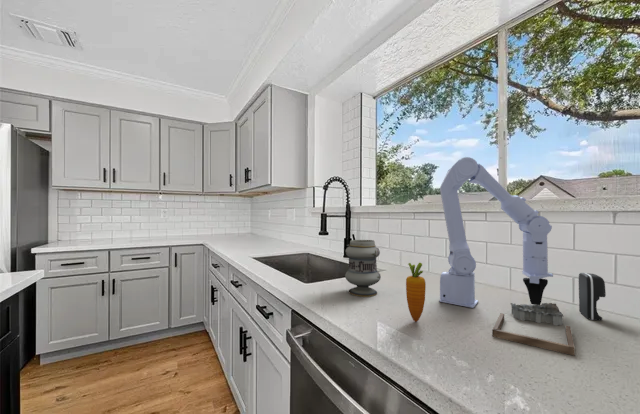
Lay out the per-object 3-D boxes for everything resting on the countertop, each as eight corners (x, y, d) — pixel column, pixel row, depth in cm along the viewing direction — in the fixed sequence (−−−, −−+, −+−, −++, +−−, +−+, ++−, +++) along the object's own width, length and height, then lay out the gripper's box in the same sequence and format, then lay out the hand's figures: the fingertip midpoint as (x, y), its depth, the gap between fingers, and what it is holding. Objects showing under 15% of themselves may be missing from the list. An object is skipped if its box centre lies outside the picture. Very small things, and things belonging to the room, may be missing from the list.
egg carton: (558, 319, 75) (558, 303, 75) (565, 328, 69) (565, 311, 69) (510, 311, 80) (510, 296, 81) (512, 319, 74) (512, 303, 74)
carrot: (402, 318, 73) (402, 260, 74) (420, 318, 74) (420, 260, 74) (410, 326, 68) (409, 263, 69) (429, 325, 69) (429, 263, 69)
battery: (608, 323, 72) (607, 277, 72) (588, 320, 73) (587, 275, 74) (596, 314, 78) (595, 272, 78) (578, 312, 80) (577, 271, 80)
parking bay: (492, 336, 63) (492, 329, 63) (500, 318, 74) (500, 313, 74) (574, 355, 55) (574, 347, 55) (570, 332, 65) (570, 326, 65)
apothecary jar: (340, 289, 102) (340, 239, 103) (371, 287, 105) (371, 238, 106) (352, 298, 91) (352, 242, 91) (386, 296, 93) (386, 241, 94)
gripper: (553, 261, 74) (554, 314, 74) (552, 255, 85) (553, 301, 85) (520, 258, 79) (520, 308, 78) (523, 253, 90) (524, 296, 89)
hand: (535, 304), depth 82 cm, fingers closed
